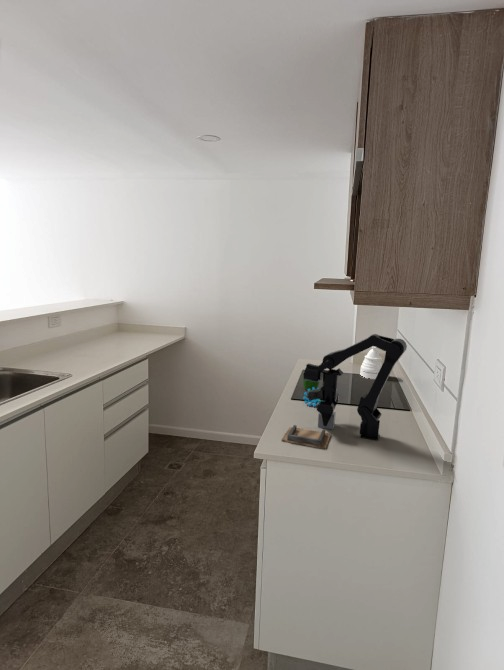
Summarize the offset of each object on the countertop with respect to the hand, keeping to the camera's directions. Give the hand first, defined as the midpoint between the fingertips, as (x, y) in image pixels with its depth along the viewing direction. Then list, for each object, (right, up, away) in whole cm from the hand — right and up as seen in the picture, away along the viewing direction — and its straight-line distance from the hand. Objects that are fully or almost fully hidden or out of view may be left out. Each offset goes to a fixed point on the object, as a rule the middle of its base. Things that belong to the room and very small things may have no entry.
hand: (326, 421), depth 169 cm
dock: (-10, -3, -12) cm, 16 cm away
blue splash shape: (-1, +2, +25) cm, 25 cm away
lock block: (0, -2, 0) cm, 2 cm away
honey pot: (+40, +10, +80) cm, 90 cm away
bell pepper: (0, +7, +48) cm, 48 cm away
